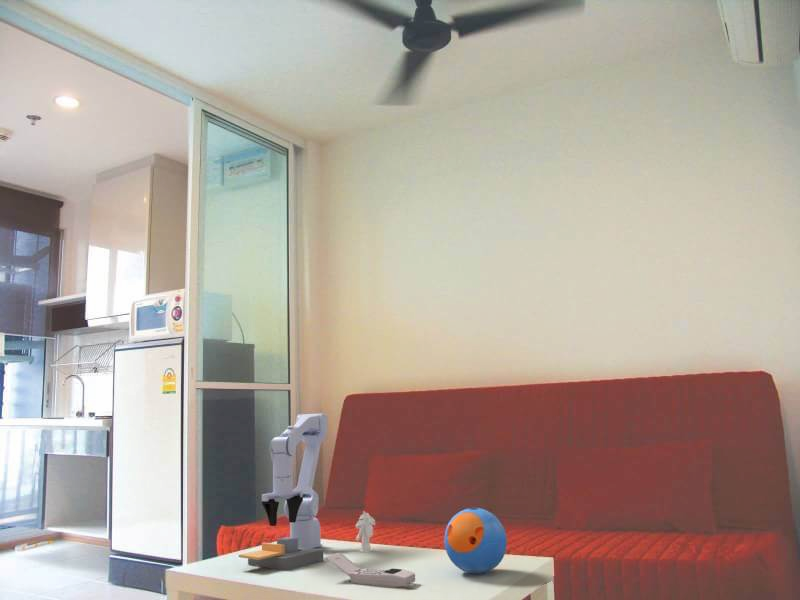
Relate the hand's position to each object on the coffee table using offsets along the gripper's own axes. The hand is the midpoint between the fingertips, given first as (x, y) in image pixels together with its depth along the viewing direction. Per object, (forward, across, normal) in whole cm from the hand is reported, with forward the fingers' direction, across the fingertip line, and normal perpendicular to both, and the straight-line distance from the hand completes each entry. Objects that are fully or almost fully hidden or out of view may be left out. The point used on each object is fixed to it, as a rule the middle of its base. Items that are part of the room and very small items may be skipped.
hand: (282, 524), depth 191 cm
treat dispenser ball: (+10, +9, -62) cm, 63 cm away
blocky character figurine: (+10, +19, -16) cm, 27 cm away
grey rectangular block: (+8, -4, -7) cm, 11 cm away
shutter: (+6, -14, -7) cm, 16 cm away
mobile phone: (+10, -11, -45) cm, 48 cm away
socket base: (+9, -5, -7) cm, 13 cm away
